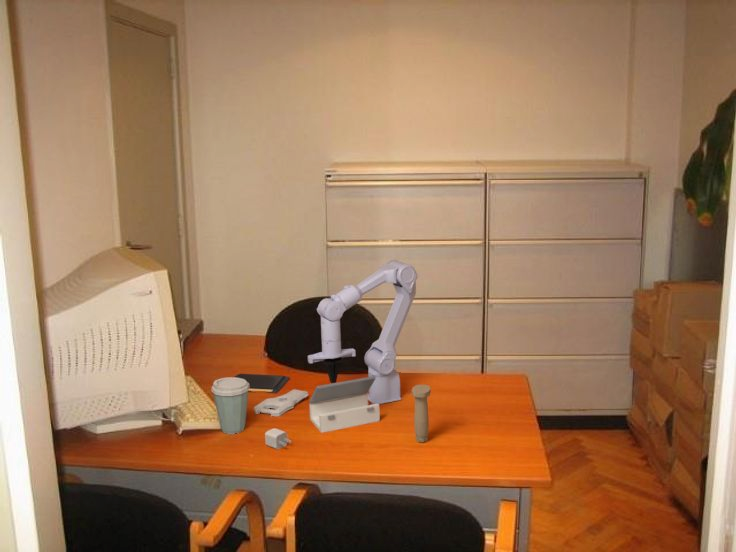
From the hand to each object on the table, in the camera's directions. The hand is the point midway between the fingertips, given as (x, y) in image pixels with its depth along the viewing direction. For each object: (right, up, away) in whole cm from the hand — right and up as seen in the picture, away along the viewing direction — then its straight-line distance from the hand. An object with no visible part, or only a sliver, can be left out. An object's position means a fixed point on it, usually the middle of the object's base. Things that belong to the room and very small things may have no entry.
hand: (332, 381), depth 216 cm
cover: (+3, -2, -7) cm, 8 cm away
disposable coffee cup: (-28, -13, -11) cm, 32 cm away
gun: (-16, -9, +6) cm, 19 cm away
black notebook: (-27, -5, +25) cm, 37 cm away
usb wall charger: (-13, -15, -22) cm, 29 cm away
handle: (+25, -13, -21) cm, 35 cm away
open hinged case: (+4, -10, -6) cm, 13 cm away
